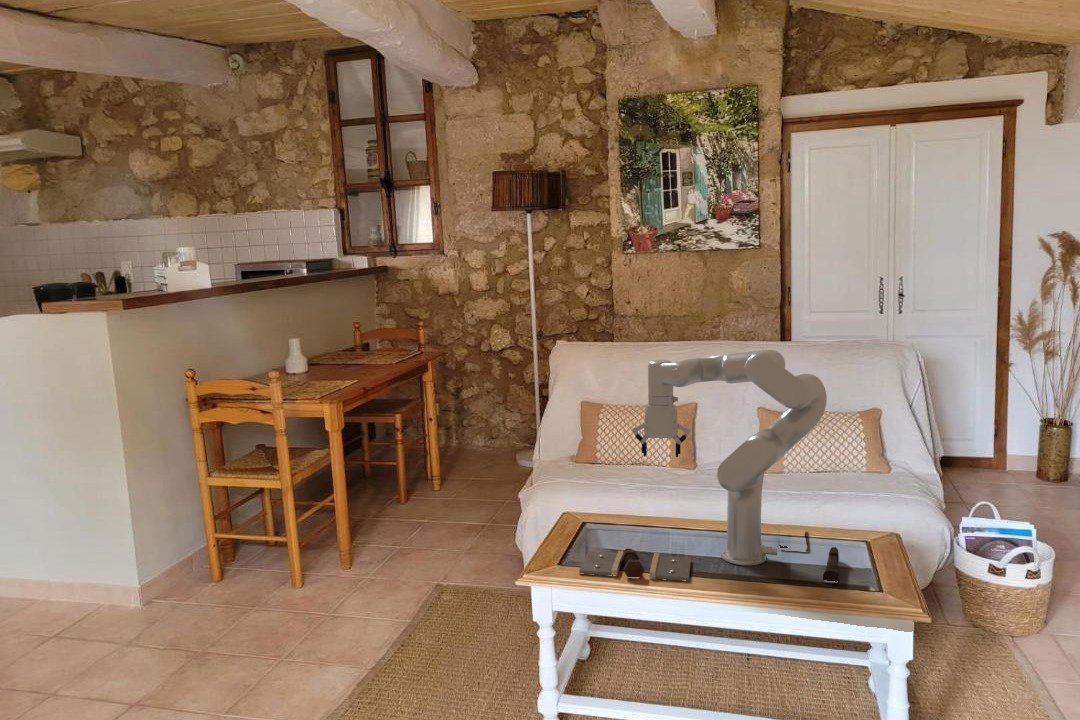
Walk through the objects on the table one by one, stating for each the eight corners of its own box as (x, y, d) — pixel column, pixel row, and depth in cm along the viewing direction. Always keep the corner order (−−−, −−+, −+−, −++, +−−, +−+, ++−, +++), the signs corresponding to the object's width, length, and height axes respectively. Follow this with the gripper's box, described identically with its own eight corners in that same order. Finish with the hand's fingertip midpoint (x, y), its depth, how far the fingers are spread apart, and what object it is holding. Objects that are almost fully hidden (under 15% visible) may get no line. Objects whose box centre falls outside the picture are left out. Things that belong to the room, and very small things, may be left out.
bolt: (631, 565, 233) (637, 584, 218) (616, 557, 233) (621, 575, 218) (641, 548, 233) (647, 566, 218) (625, 540, 233) (631, 557, 218)
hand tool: (838, 586, 211) (839, 569, 211) (822, 583, 213) (823, 567, 212) (844, 562, 228) (845, 546, 228) (830, 560, 230) (830, 544, 229)
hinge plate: (690, 561, 230) (690, 555, 230) (688, 581, 215) (688, 574, 215) (588, 555, 237) (588, 548, 236) (579, 574, 222) (579, 567, 222)
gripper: (689, 399, 243) (689, 453, 245) (632, 398, 246) (633, 452, 248) (689, 403, 236) (689, 459, 238) (631, 402, 239) (631, 458, 241)
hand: (661, 455), depth 243 cm, fingers open, 9 cm apart
